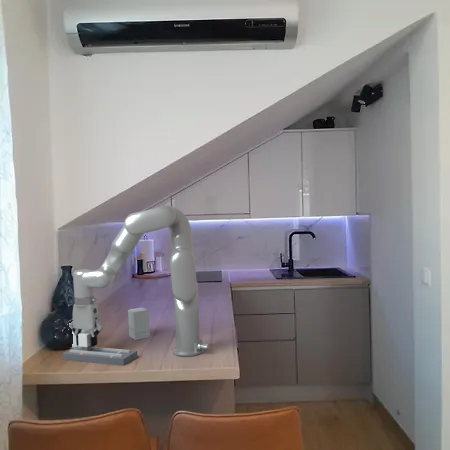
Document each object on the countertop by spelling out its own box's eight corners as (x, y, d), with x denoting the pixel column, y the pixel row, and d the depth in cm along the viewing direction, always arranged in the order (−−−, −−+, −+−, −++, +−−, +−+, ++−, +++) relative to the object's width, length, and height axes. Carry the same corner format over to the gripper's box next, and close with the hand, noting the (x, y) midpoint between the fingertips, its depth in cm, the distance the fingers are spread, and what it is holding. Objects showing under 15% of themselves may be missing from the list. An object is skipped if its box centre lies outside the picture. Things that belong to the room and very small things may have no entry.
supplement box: (150, 337, 215) (149, 309, 214) (134, 340, 211) (133, 312, 210) (144, 333, 221) (142, 306, 221) (128, 336, 217) (127, 309, 217)
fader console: (137, 357, 188) (137, 348, 188) (123, 365, 178) (123, 357, 178) (78, 351, 198) (78, 343, 198) (62, 359, 188) (62, 351, 188)
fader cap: (95, 348, 192) (94, 331, 191) (87, 352, 187) (86, 335, 187) (86, 347, 193) (85, 330, 193) (79, 351, 188) (78, 334, 188)
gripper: (108, 299, 189) (110, 344, 190) (72, 297, 196) (75, 341, 197) (97, 303, 182) (99, 349, 183) (60, 301, 189) (62, 346, 189)
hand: (86, 344), depth 190 cm, fingers open, 6 cm apart
